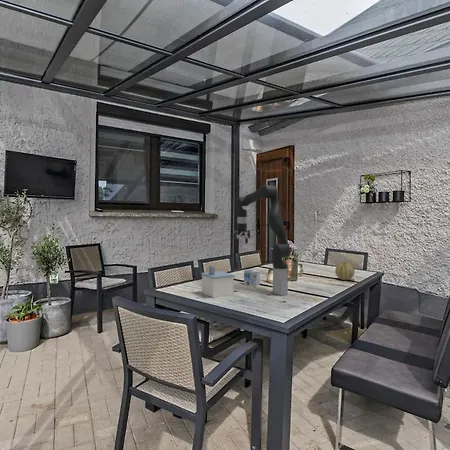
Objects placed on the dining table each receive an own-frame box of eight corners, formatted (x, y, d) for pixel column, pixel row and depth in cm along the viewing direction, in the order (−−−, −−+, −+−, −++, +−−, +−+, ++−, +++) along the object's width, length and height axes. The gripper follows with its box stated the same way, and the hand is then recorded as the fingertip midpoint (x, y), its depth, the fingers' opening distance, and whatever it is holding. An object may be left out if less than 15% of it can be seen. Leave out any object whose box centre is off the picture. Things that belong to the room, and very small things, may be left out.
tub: (233, 295, 219) (233, 276, 218) (213, 297, 211) (213, 278, 211) (221, 290, 232) (221, 272, 231) (201, 292, 224) (202, 274, 223)
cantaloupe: (351, 278, 280) (352, 260, 279) (356, 282, 265) (357, 263, 264) (333, 277, 281) (333, 260, 280) (337, 281, 266) (337, 262, 266)
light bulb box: (243, 284, 251) (243, 270, 250) (247, 282, 257) (247, 268, 256) (256, 286, 246) (257, 271, 245) (260, 284, 252) (260, 270, 251)
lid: (234, 276, 218) (234, 266, 218) (213, 279, 210) (213, 268, 210) (221, 272, 232) (221, 263, 232) (201, 274, 223) (201, 264, 223)
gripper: (237, 223, 254) (236, 244, 255) (252, 222, 261) (252, 243, 262) (231, 222, 260) (231, 243, 261) (246, 222, 268) (246, 242, 268)
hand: (241, 243), depth 262 cm, fingers open, 8 cm apart
